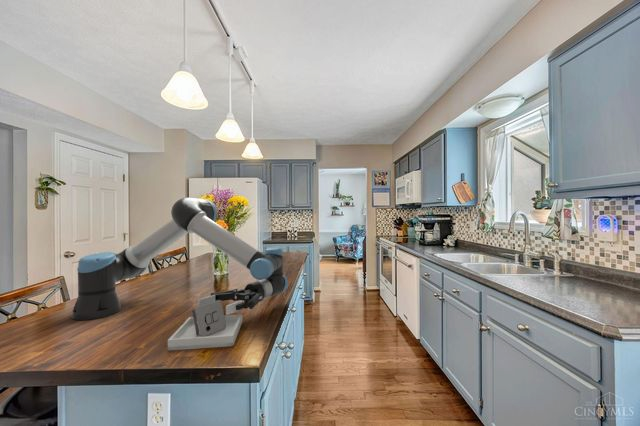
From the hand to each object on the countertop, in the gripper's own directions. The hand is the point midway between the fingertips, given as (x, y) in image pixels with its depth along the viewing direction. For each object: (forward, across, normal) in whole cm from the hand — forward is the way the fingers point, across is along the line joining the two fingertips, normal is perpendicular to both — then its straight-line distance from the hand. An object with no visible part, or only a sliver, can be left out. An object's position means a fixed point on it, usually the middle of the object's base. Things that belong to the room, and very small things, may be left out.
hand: (211, 307), depth 89 cm
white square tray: (+1, 0, -9) cm, 9 cm away
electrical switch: (+1, +1, -8) cm, 8 cm away
